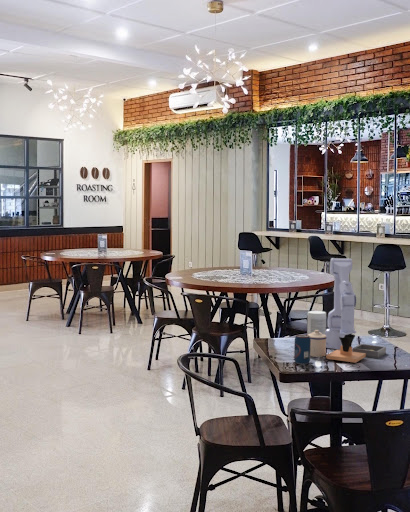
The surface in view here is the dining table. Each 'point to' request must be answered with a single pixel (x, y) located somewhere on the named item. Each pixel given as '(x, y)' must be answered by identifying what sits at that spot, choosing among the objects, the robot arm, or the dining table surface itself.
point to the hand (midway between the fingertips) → (346, 351)
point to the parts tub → (370, 350)
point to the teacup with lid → (317, 344)
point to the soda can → (302, 349)
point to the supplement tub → (316, 322)
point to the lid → (345, 355)
